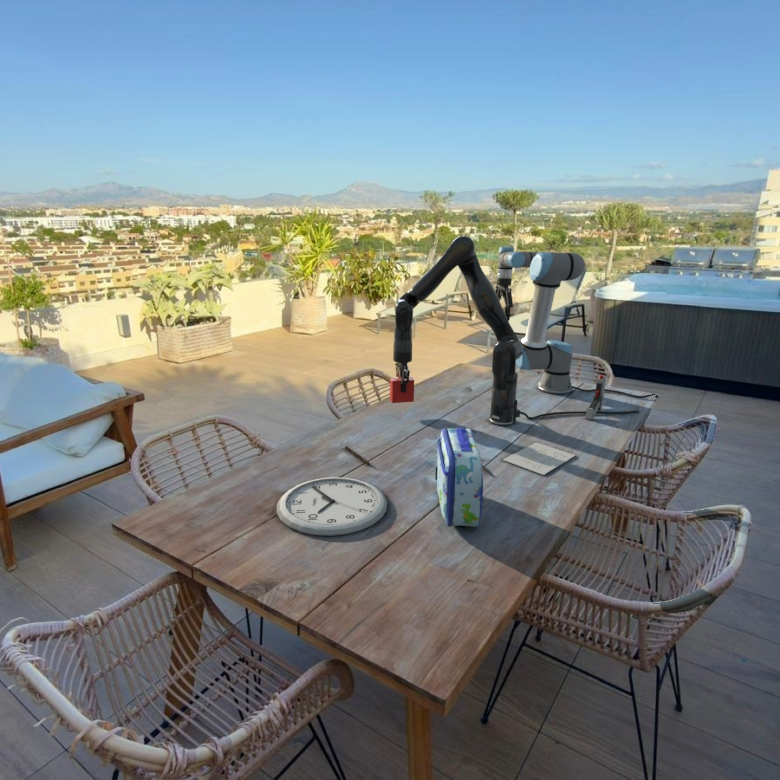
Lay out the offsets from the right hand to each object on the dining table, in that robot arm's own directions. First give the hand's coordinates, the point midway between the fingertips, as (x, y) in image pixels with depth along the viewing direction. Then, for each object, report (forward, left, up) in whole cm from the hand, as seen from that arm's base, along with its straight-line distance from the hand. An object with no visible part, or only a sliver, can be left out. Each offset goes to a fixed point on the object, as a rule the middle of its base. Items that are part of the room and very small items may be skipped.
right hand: (501, 318), depth 277 cm
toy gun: (-21, +74, -28) cm, 82 cm away
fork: (+38, +119, -28) cm, 128 cm away
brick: (+58, +68, -23) cm, 92 cm away
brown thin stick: (+77, +112, -28) cm, 139 cm away
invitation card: (+16, +115, -28) cm, 119 cm away
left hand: (+58, +68, -18) cm, 91 cm away
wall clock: (+84, +143, -28) cm, 168 cm away
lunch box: (+50, +146, -28) cm, 157 cm away
